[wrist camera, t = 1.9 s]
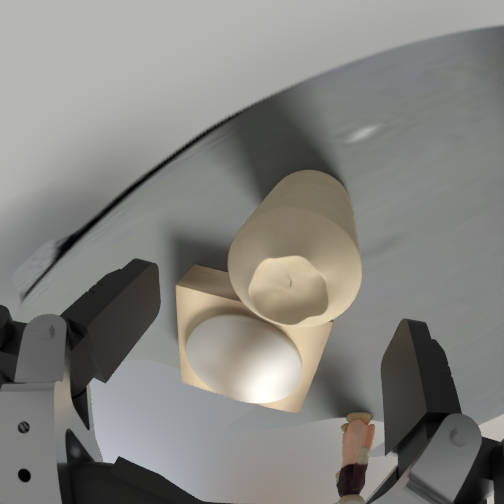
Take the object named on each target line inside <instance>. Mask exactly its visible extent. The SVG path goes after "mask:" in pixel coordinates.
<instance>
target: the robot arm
mask: <svg viewBox="0 0 504 504" xmlns="http://www.w3.org/2000/svg"><path fill="white" fill-rule="evenodd" d="M160 304H161V300H160V286H159V270H158V266H157V264H156V263H152V262H149V261H145V260H141V259H137V258H135V259H133V260H132V261H131V262H129V263H128V264H127V265H126V266H125V267H124V268H122V269H118V270H116V271H113V272H111V273H109V274H107V275H105V276H104V277H103V278H102V279H101V280H99V281H98V282H97V284H96V285H94V286H92V287H91V288H90V289H89V291H88V292H86V293H84V294H83V295H82V296H81V297H80V298H79V299H78V300H76V301H75V302H74V303H73V304H72V305H71V306H70V307H69V308H68V309H66V310H65V311H64V312H63V313H62V314H61V315H60V316H58V315H55V314H45V315H41V316H38V317H36V318H34V319H33V320H31V321H30V322H29V323H28V324H27V323H22V322H16V321H13V320H12V317H11V315H10V313H9V310H8V309H7V307H5V306H2V305H0V504H229V503H212V502H204V501H201V500H199V499H197V498H195V497H194V496H192V495H190V494H189V493H187V492H185V491H184V490H182V489H181V488H179V487H178V486H176V485H175V484H173V483H171V482H170V481H169V480H167V479H165V478H164V477H163V476H161V475H160V474H158V473H155V472H153V471H150V470H148V469H145V468H143V467H141V466H139V465H137V464H134V463H132V462H130V461H128V460H126V459H124V458H122V457H120V456H119V457H118V458H117V460H116V462H115V463H114V464H112V463H105V462H103V458H102V455H101V452H100V449H99V446H98V444H97V441H96V437H95V431H94V423H93V414H92V403H91V390H90V385H89V382H90V381H91V380H92V379H93V377H94V378H96V379H98V380H100V381H102V382H104V383H106V382H107V381H108V380H109V378H110V377H111V376H112V374H113V373H114V372H115V370H116V369H117V368H118V366H119V365H120V364H121V362H122V361H123V360H124V359H125V357H126V356H127V355H128V353H129V352H130V351H131V349H132V348H133V347H134V346H135V344H136V343H137V342H138V340H139V339H140V338H141V336H142V335H143V334H144V333H145V331H146V330H147V329H148V328H149V326H150V325H151V324H152V322H153V321H154V320H155V319H156V317H157V315H158V313H159V309H160ZM381 380H382V392H383V408H384V430H385V456H387V457H398V465H397V466H395V467H394V469H393V470H392V471H391V472H390V473H389V475H388V476H387V477H386V478H385V479H384V480H383V482H382V483H381V484H380V485H379V486H378V487H377V488H376V490H375V491H374V492H373V493H372V494H371V495H370V496H369V497H368V498H367V500H365V501H364V503H363V504H487V498H488V497H490V496H491V495H493V494H494V502H495V503H494V504H504V439H503V440H502V441H501V442H498V441H495V440H492V439H488V438H485V437H482V436H481V432H480V429H479V427H478V425H477V424H476V423H475V421H474V420H472V419H471V418H470V417H468V416H466V415H464V414H462V412H461V408H460V404H459V400H458V396H457V392H456V388H455V385H454V381H453V378H452V377H451V371H450V367H449V366H448V361H447V358H446V355H445V352H444V350H443V349H442V347H441V346H440V345H439V343H438V342H437V341H436V340H434V339H431V336H430V333H429V330H428V327H427V324H426V323H425V322H422V321H416V320H410V319H405V318H404V319H402V320H401V322H400V323H399V325H398V327H397V330H396V332H395V334H394V336H393V338H392V340H391V342H390V344H389V346H388V348H387V350H386V351H385V354H384V356H383V359H382V363H381Z"/></svg>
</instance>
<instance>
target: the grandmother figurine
mask: <svg viewBox="0 0 504 504" xmlns="http://www.w3.org/2000/svg"><path fill="white" fill-rule="evenodd" d="M371 418H372V415H371V414H370V413H367V412H355V413H349V414H348V415H347V417H346V419H347V421H348V422H349V423H346V424H344V425H342V426H341V430H342V431H343V432H344V433H343V441H342V442H343V447H342V456H343V462H342V468H341V470H340V471H339V472H337V473H336V478H337V488H338V493H339V496H340V497H341V499H340V500H339V501H338V503H335V504H363V503H364V500H363V498H362V497H361V496H360V495H359V494H360V492H361V490H362V489H363V487H364V485H365V472H366V470H367V465H368V458H369V454H370V451H371V447H372V443H373V438H374V430H375V425H374V424H370V425H368V424H369V422H370V420H371Z"/></svg>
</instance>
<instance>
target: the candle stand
mask: <svg viewBox="0 0 504 504" xmlns="http://www.w3.org/2000/svg"><path fill="white" fill-rule="evenodd" d="M176 304H177V323H178V338H179V352H180V364H181V375H182V382H184V383H187V384H190V385H193V386H196V387H199V388H202V389H205V390H208V391H211V392H215V393H218V394H221V395H225V396H227V397H229V398H232V399H235V400H238V401H243V402H249V403H254V404H257V405H261V406H266V407H270V408H274V409H278V410H283V411H287V412H292V413H297V414H299V412H300V409H301V407H302V405H303V402H304V400H305V397H306V395H307V392H308V390H309V387H310V385H311V382H312V380H313V377H314V375H315V372H316V369H317V367H318V364H319V361H320V359H321V356H322V353H323V351H324V348H325V345H326V342H327V339H328V336H329V334H330V331H331V328H332V325H333V319H332V320H331V321H329V322H326V323H324V324H321V325H317V326H313V327H305V328H294V327H286V326H281V325H278V324H275V323H272V322H269V321H267V320H265V319H263V318H261V317H260V316H258V315H257V314H255V313H254V312H252V311H251V310H250V309H249V308H248V307H247V306H246V305H245V304H244V303H243V302H242V301H241V300H240V298H239V297H238V295H237V294H236V292H235V290H234V288H233V286H232V284H231V281H230V277H229V273H228V272H225V271H220V270H216V269H212V268H208V267H203V266H199V265H195V264H194V265H193V266H192V267H191V268H190V269H189V271H188V272H187V273H186V274H185V275H184V276H183V277H182V278H181V280H180V281H179V282H178V283H177V284H176Z"/></svg>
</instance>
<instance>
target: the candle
mask: <svg viewBox="0 0 504 504" xmlns="http://www.w3.org/2000/svg"><path fill="white" fill-rule="evenodd" d="M228 273H229V277H230V281H231V284H232V286H233V288H234V290H235V292H236V294H237V295H238V297H239V298H240V300H241V301H242V302H243V303H244V304H245V305H246V306H247V307H248V308H249V309H250V310H251V311H252V312H254V313H255V314H257V315H258V316H260V317H261V318H263V319H265V320H267V321H269V322H272V323H275V324H278V325H281V326H286V327H294V328H305V327H313V326H317V325H321V324H324V323H326V322H329V321H331V320H332V319H334V318H336V317H337V316H339V315H340V314H342V313H343V312H344V311H345V310H346V309H347V308H348V307H349V306H350V305H351V303H352V302H353V300H354V299H355V297H356V295H357V293H358V291H359V288H360V284H361V280H362V262H361V255H360V248H359V242H358V236H357V230H356V224H355V218H354V213H353V208H352V203H351V200H350V197H349V195H348V193H347V191H346V189H345V188H344V187H343V185H342V184H341V183H340V182H339V181H338V180H336V179H335V178H334V177H332V176H330V175H329V174H326V173H324V172H321V171H317V170H301V171H297V172H294V173H291V174H289V175H288V176H286V177H284V178H283V179H282V180H281V181H280V182H279V183H278V184H277V185H276V186H275V187H274V188H273V189H272V191H271V192H270V193H269V194H268V195H267V197H266V198H265V199H264V200H263V201H262V203H261V204H260V205H259V206H258V208H257V209H256V210H255V211H254V213H253V214H252V215H251V216H250V217H249V219H248V220H247V221H246V222H245V224H244V225H243V226H242V227H241V229H240V230H239V231H238V233H237V234H236V235H235V237H234V239H233V241H232V243H231V246H230V249H229V254H228Z"/></svg>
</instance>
